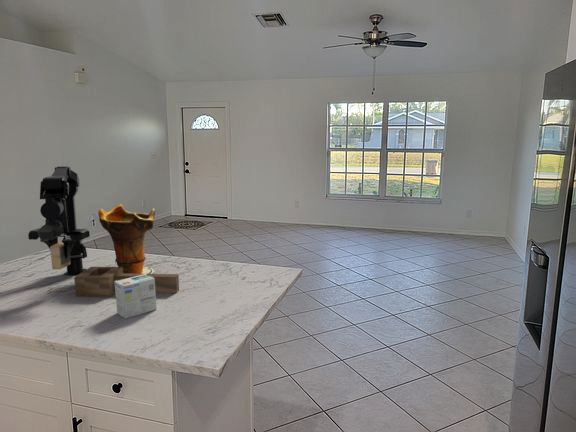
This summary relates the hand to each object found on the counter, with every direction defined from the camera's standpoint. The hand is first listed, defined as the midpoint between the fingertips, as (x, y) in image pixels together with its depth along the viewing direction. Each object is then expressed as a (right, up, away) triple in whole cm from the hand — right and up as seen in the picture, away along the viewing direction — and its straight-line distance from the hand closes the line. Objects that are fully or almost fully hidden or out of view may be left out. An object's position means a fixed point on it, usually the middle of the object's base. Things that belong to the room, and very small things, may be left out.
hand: (61, 258), depth 148 cm
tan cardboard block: (0, -3, +1) cm, 3 cm away
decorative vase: (+15, -9, +25) cm, 30 cm away
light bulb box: (+31, -16, -13) cm, 37 cm away
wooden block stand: (+22, -12, +5) cm, 26 cm away
